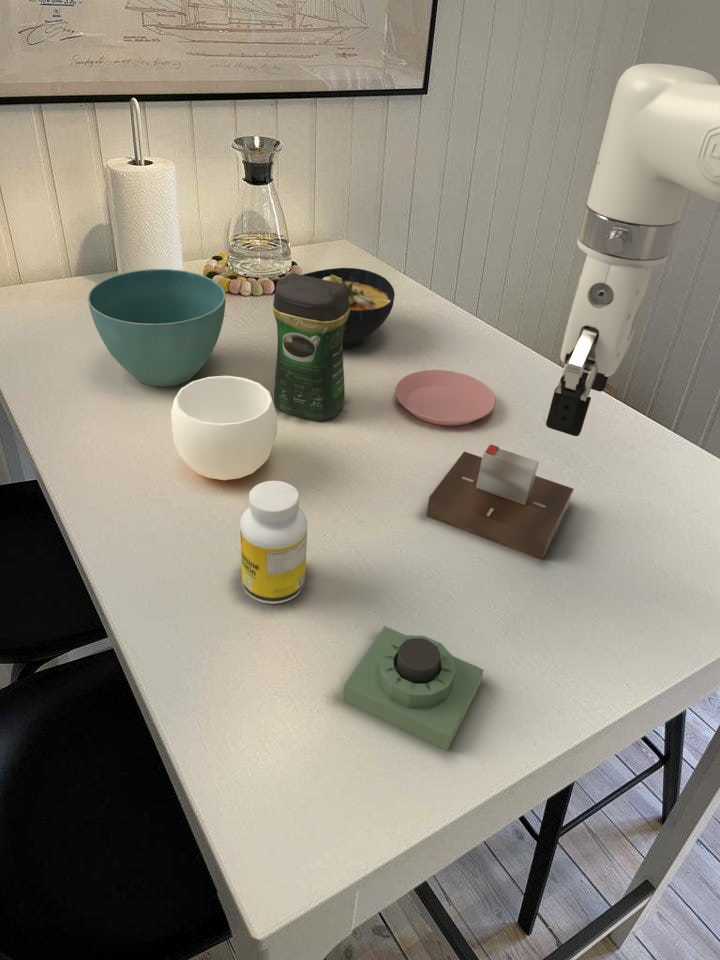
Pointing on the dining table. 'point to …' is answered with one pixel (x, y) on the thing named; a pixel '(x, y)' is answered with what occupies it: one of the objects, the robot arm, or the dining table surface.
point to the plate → (445, 397)
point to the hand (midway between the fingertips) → (575, 407)
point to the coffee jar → (310, 346)
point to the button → (418, 660)
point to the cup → (224, 426)
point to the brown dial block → (499, 509)
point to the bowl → (361, 301)
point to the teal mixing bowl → (159, 322)
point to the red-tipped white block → (507, 474)
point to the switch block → (413, 690)
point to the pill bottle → (273, 543)
